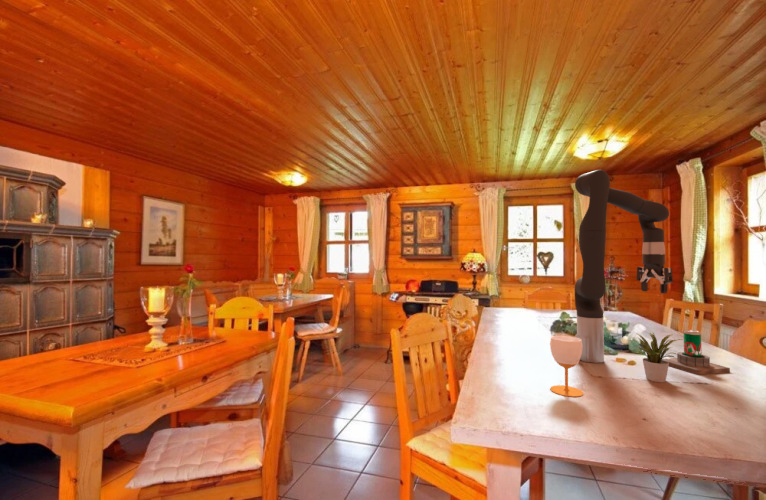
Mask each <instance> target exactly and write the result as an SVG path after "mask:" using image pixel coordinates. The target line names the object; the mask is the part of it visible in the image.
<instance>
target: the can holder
mask: <svg viewBox="0 0 766 500" xmlns="http://www.w3.org/2000/svg"><path fill="white" fill-rule="evenodd" d="M676 354H677V355H676V357H671V358H662V360H665V361H667V362H669V366H668V367H671V368H676V369H677V370H682V371H685V372H688V373H692V374H694V375H699V376H700V375H713V374H725V373H730V372H731V368H730V367H727V366H724V365H720V364H716V363H712V362H711V358H710V356H708V355H705V354H702V358H696V357H689V356H685V355H684V351H683V352H682V351H679V352H676Z"/></svg>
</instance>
